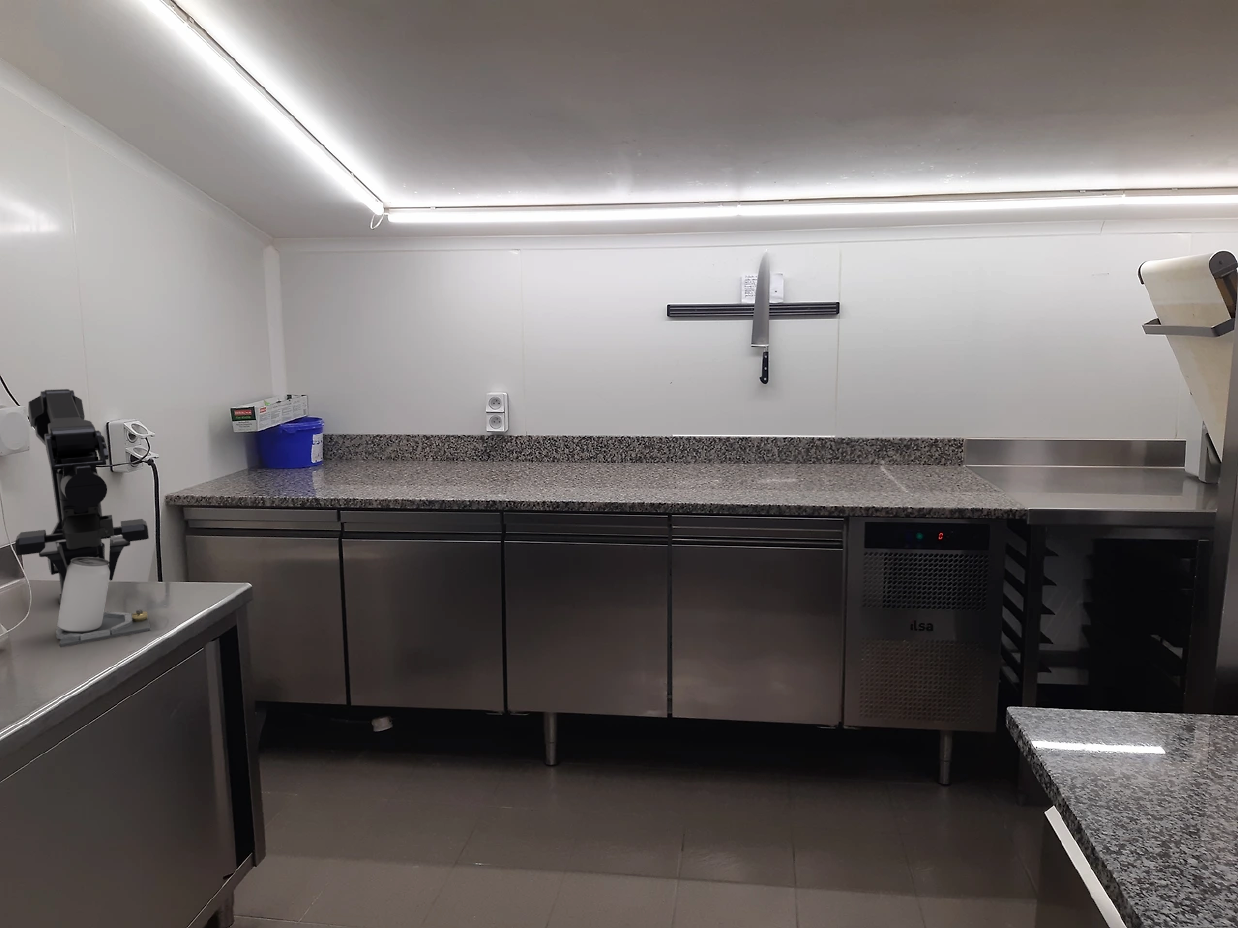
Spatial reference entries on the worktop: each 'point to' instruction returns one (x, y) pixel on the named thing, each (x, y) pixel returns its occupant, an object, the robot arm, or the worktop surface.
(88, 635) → the socket
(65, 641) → the carrier plate
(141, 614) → the brass round knob
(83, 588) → the can
